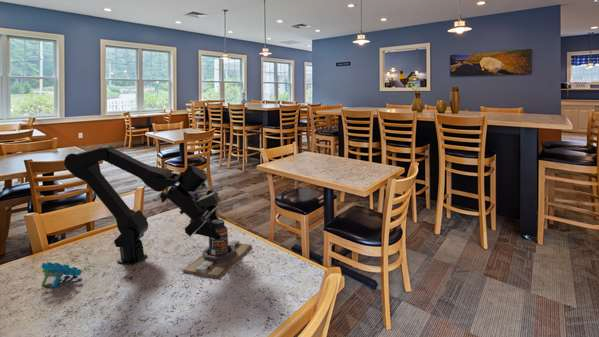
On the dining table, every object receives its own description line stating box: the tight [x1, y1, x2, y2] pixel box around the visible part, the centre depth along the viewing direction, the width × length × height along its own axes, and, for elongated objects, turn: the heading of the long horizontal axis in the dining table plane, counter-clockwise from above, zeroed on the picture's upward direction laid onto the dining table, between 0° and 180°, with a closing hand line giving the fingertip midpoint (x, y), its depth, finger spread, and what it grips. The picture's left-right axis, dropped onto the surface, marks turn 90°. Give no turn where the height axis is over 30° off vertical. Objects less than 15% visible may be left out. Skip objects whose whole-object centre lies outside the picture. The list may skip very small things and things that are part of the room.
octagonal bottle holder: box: [182, 239, 253, 279], centre depth 109 cm, size 12×22×3 cm, turn 162°
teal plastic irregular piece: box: [41, 261, 83, 288], centre depth 95 cm, size 11×6×10 cm
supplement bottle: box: [208, 218, 229, 257], centre depth 108 cm, size 6×6×11 cm
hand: (222, 234), depth 108 cm, fingers closed on supplement bottle, 6 cm apart
